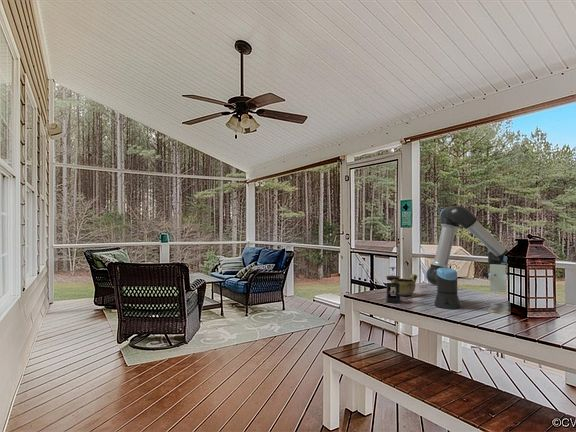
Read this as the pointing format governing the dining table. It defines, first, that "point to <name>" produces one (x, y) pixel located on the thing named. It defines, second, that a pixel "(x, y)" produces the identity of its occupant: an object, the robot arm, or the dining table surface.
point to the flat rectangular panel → (497, 278)
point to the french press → (393, 298)
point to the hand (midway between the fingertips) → (498, 277)
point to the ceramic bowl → (405, 285)
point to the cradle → (499, 308)
